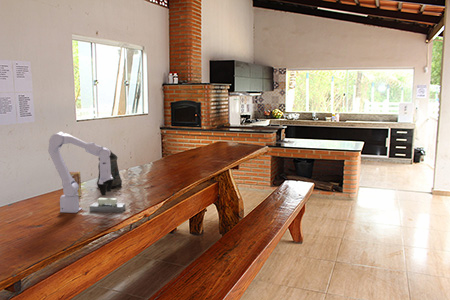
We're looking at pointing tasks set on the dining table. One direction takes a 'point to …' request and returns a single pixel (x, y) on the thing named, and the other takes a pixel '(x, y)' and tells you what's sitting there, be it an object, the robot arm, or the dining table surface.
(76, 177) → the candy box
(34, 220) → the dining table surface
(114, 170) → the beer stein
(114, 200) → the notched cream block
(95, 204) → the grey block with holes
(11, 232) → the dining table surface
